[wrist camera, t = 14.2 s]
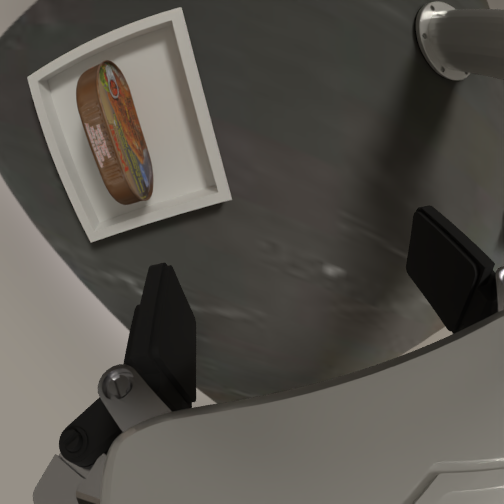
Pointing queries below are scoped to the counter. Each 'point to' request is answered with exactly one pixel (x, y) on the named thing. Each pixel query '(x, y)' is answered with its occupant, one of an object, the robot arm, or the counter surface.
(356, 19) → the counter surface
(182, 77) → the white tray
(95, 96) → the tin
